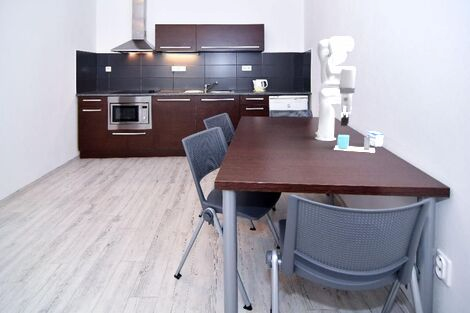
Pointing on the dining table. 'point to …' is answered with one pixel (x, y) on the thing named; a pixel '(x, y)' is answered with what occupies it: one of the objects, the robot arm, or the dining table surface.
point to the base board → (357, 149)
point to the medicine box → (375, 138)
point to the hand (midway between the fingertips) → (344, 124)
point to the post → (366, 142)
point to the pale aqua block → (343, 142)
